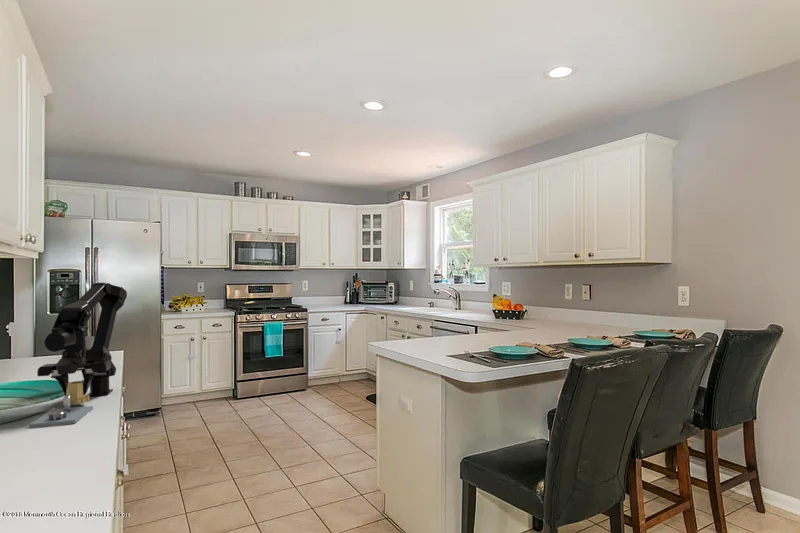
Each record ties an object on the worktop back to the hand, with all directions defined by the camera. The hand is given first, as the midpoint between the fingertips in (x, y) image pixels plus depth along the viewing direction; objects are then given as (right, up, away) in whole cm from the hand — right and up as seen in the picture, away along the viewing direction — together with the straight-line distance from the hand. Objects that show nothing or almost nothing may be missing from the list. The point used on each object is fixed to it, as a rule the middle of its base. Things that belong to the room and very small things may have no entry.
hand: (75, 395), depth 151 cm
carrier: (+5, -3, -12) cm, 13 cm away
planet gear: (0, -2, 0) cm, 2 cm away
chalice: (-14, -4, +26) cm, 30 cm away
